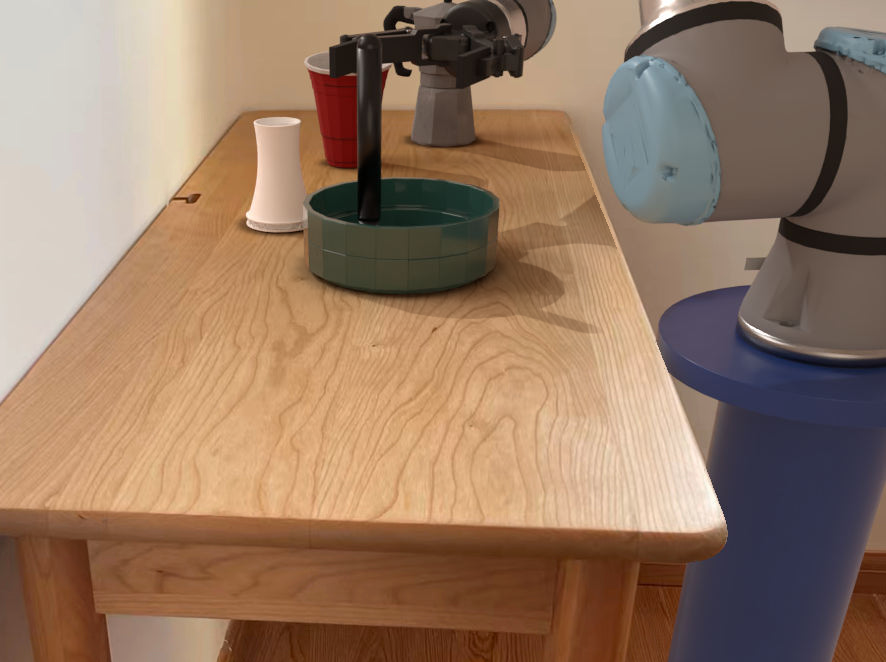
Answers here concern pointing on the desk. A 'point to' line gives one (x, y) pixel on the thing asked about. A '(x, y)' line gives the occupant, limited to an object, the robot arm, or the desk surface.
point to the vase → (278, 177)
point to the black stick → (369, 128)
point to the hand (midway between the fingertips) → (394, 67)
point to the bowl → (402, 236)
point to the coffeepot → (435, 88)
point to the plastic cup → (337, 109)
